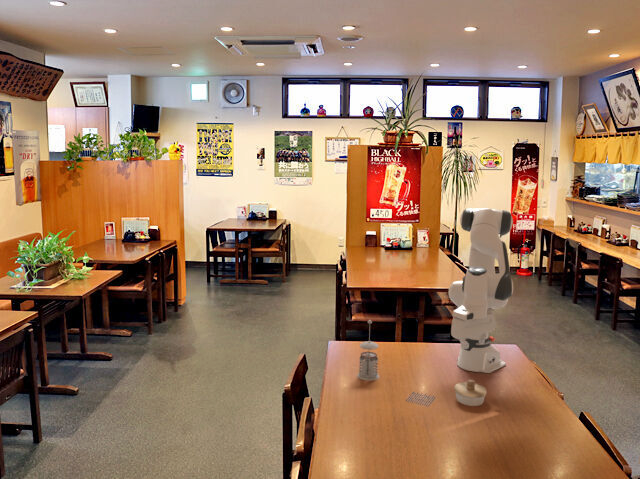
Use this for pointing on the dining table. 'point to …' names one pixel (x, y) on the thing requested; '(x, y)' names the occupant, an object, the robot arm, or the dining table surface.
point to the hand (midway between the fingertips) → (472, 345)
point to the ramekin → (469, 400)
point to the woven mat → (421, 399)
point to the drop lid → (470, 389)
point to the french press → (368, 361)
